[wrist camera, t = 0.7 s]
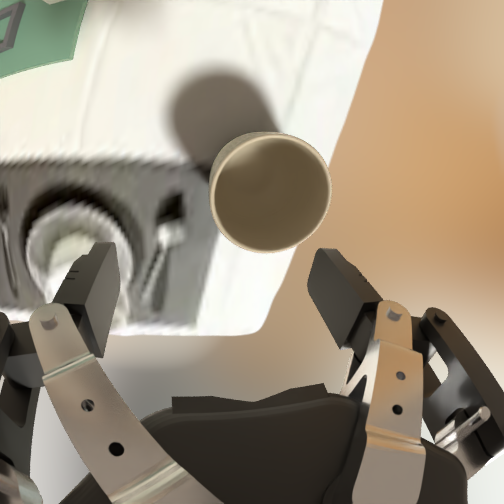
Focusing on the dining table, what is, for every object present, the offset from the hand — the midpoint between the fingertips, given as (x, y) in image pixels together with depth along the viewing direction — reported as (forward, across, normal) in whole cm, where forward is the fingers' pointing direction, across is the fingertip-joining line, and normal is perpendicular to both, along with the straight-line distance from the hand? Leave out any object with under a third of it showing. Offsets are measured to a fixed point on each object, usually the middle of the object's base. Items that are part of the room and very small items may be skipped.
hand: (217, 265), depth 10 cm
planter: (+26, -7, +2) cm, 27 cm away
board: (+26, +29, -21) cm, 44 cm away
